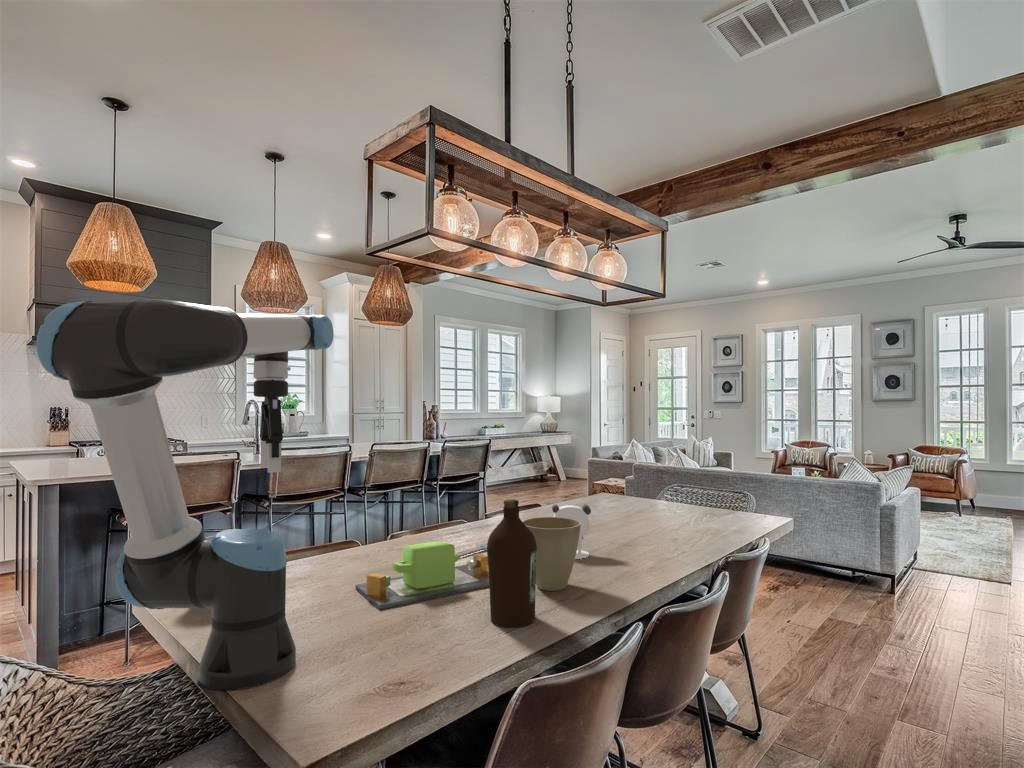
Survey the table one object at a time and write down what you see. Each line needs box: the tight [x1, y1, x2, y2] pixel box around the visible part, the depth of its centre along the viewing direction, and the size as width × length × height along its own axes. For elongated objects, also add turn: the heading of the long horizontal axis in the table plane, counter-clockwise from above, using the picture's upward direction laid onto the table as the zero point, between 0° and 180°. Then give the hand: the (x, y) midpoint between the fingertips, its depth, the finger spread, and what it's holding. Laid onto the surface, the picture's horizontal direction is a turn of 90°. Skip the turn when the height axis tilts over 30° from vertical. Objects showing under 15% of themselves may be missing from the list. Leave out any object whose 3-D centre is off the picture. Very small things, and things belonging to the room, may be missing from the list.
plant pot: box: [521, 516, 581, 592], centre depth 139 cm, size 15×15×16 cm
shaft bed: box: [355, 552, 489, 610], centre depth 140 cm, size 18×33×6 cm, turn 123°
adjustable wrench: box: [456, 541, 488, 557], centre depth 172 cm, size 25×6×2 cm, turn 135°
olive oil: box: [486, 498, 537, 629], centre depth 117 cm, size 11×11×25 cm
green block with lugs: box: [392, 540, 461, 588], centre depth 141 cm, size 18×10×10 cm, turn 125°
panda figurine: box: [551, 504, 592, 560], centre depth 169 cm, size 12×11×15 cm
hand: (270, 469), depth 130 cm, fingers open, 13 cm apart
